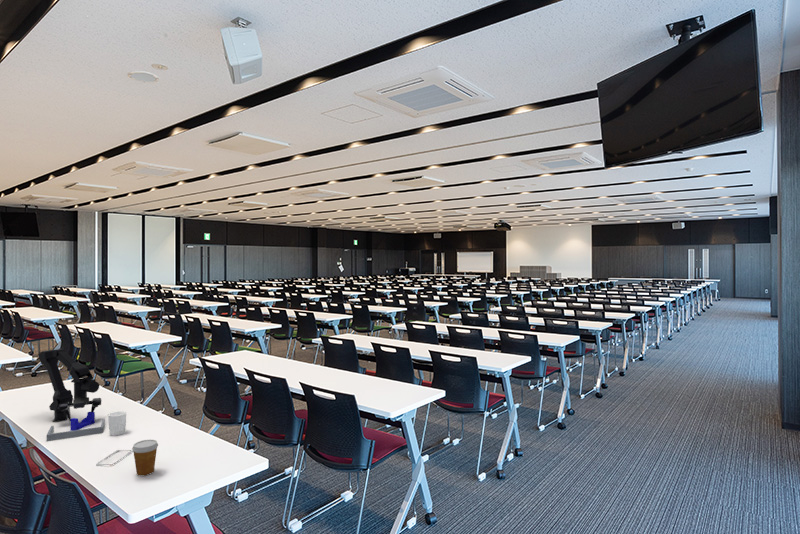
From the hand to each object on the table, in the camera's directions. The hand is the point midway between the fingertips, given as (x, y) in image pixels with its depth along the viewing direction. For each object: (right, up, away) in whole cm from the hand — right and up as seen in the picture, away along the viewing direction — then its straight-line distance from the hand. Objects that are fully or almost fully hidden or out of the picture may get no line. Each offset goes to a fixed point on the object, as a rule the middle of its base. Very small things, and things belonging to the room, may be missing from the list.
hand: (80, 419), depth 253 cm
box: (+8, -2, -14) cm, 16 cm away
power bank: (+46, -3, -45) cm, 64 cm away
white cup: (+29, -2, -15) cm, 33 cm away
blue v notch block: (+4, -2, -6) cm, 7 cm away
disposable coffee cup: (+66, -3, -58) cm, 88 cm away
